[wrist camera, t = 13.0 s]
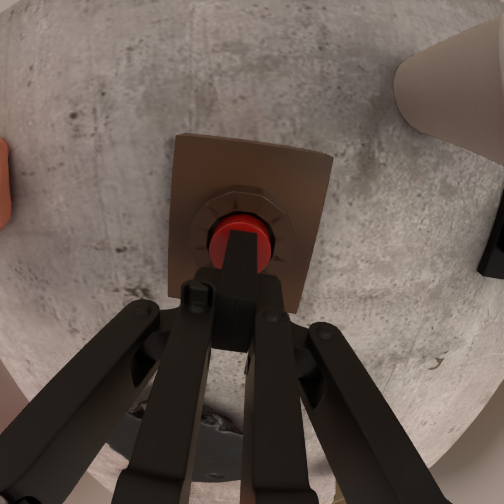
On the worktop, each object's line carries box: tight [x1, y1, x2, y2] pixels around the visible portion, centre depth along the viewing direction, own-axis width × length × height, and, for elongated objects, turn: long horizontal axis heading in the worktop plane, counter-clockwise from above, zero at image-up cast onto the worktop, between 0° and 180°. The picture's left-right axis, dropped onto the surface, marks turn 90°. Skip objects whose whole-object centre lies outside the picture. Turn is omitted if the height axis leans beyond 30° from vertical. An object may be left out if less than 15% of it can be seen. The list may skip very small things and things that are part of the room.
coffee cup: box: [393, 11, 504, 166], centre depth 10 cm, size 10×10×15 cm
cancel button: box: [209, 213, 271, 273], centre depth 18 cm, size 4×4×2 cm
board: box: [106, 401, 243, 483], centre depth 32 cm, size 22×22×5 cm
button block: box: [168, 133, 333, 314], centre depth 20 cm, size 12×10×4 cm
